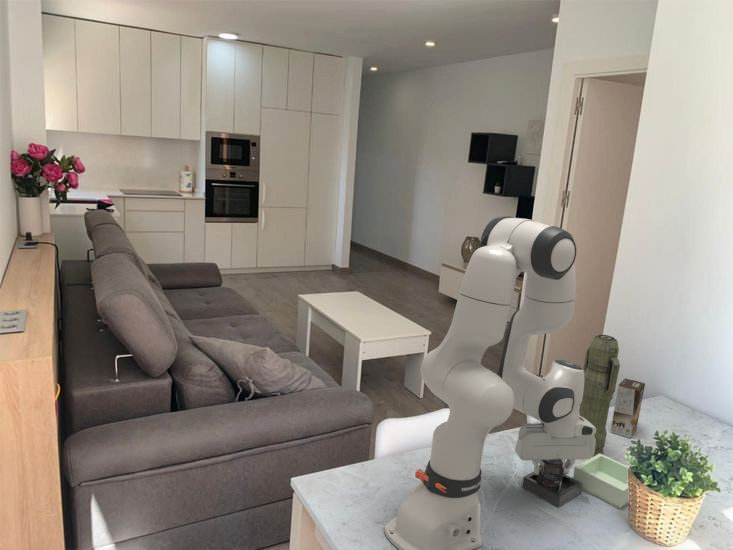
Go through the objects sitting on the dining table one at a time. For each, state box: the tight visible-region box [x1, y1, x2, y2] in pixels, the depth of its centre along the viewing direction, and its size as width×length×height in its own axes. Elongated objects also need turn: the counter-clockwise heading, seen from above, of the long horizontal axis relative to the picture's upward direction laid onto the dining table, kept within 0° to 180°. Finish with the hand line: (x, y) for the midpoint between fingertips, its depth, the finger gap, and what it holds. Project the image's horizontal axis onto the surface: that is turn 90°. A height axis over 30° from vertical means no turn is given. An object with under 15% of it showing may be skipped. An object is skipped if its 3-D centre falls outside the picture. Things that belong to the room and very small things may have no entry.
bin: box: [572, 453, 630, 510], centre depth 150 cm, size 13×13×5 cm
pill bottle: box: [537, 455, 566, 493], centre depth 147 cm, size 6×6×11 cm
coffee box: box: [609, 378, 646, 439], centre depth 184 cm, size 9×6×16 cm
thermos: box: [579, 334, 621, 457], centre depth 167 cm, size 9×12×35 cm
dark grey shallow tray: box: [521, 471, 583, 508], centre depth 147 cm, size 10×10×3 cm
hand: (551, 473), depth 147 cm, fingers closed on pill bottle, 6 cm apart
